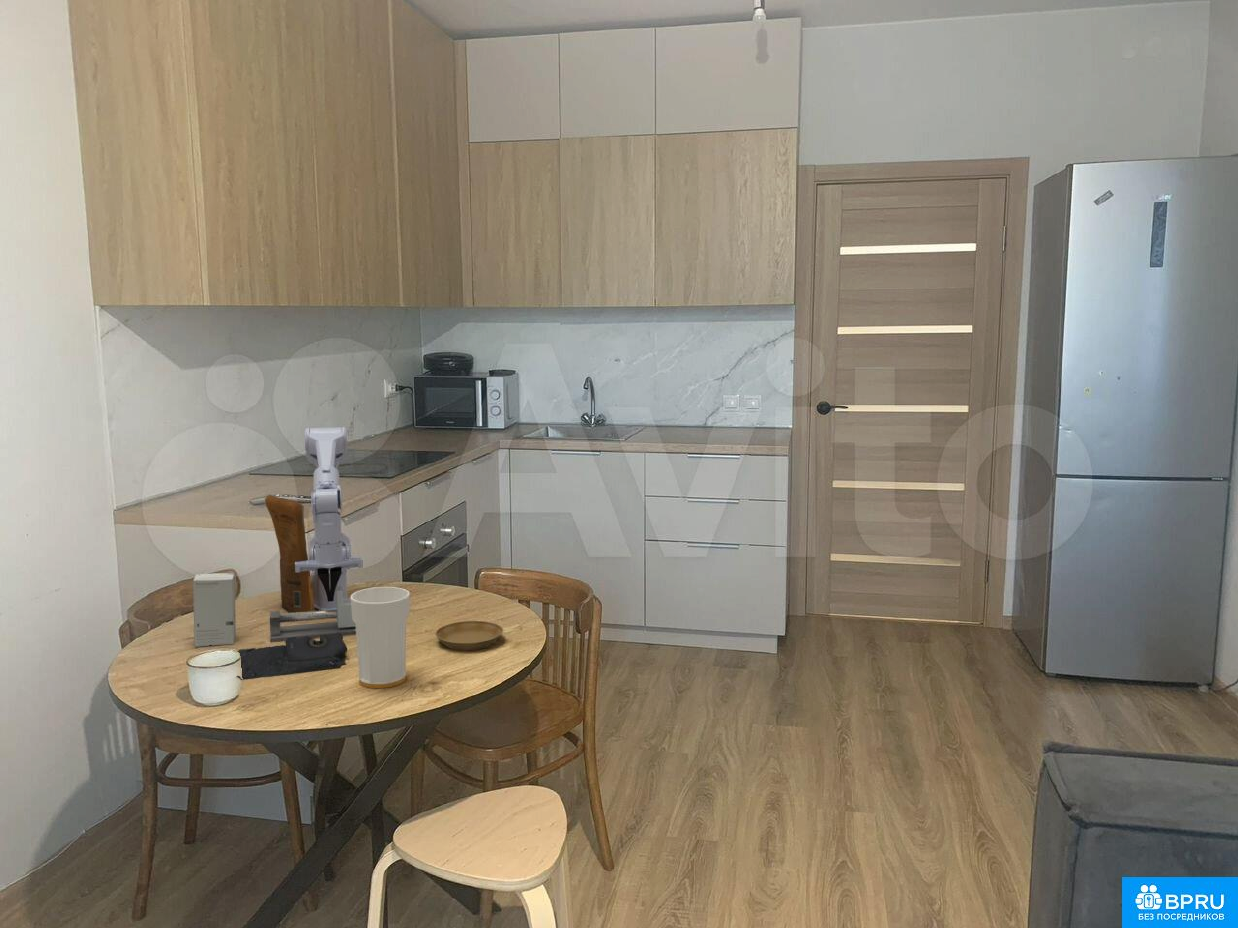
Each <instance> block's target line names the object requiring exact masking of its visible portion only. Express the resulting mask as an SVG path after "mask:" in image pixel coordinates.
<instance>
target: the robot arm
mask: <svg viewBox="0 0 1238 928" xmlns="http://www.w3.org/2000/svg"><path fill="white" fill-rule="evenodd" d="M347 431H348V430H347V428H346V427H345V426H342V427H306V428H305V429H304V448H305V449H304V451H305V454H306V459H307V462H308V463H310V464H312V465H314V466H315V467H316V469H315V470H314V472H313V478H312V479H313V480H312V481H313V491H311V493H310V500H311V501H310V502H311V503H310V504H311V505H310V506H311V507H310V508H311V512H312V519H313V524H314V529H313V530H314V536H312V537H311V538H310V541H309V543H308V544H309V548H308V561H301V562H295V572H301V571H310V577H311V584H312V591H313V598H314V609H316V610H317V611H319V610H331V609H337V597H336V586H342V597H343V599H345V598H348V582H347V579H348V578H347V571H348V570H349V569H351V568H353V569H354V568H358V569H363V568H364V560H363V557H352V547H351V546H352V545H351V540H350V537H349V536H348V535H347V534H345V533H344V532H342V518H341V517H342V515H341V514H342V512H343V493H342V489H341V484H340V483H341V482H340V481H341V479H340V472H339V470H338V468H339V466H340V464H342V463H344V462H346V461H347V458H348V432H347ZM339 510H340V511H339Z"/></svg>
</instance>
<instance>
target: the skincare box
mask: <svg viewBox="0 0 1238 928" xmlns="http://www.w3.org/2000/svg"><path fill="white" fill-rule="evenodd" d="M192 583H193V585H192V587H193V590H192V591H193V593H192V594H193V596H192V597H193V637H194V638H193V641H194V644H193V645H194V647H195V648H199V647H210V646H209V645H212V646H221V645H234V644H235V641H236V637H237V633H236V631H237V628H236V627H237V625H236V622H237V621H236V573H235V572H234V573H233V572H230V573H229V572H225V573H222V572H221V573H219V572H218V573H217V572H216V573H201V574H200V573H198V574H195V576H194V578H193V582H192Z"/></svg>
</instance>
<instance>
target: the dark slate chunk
mask: <svg viewBox="0 0 1238 928" xmlns="http://www.w3.org/2000/svg"><path fill="white" fill-rule="evenodd" d="M344 641H345V640H344V636H342V634H341V633H339V632H337V633H335V634H324V635H320V638H319V640H316V638H311V637H309V636H305V637H302V638H296V637H290V638H288V639H286V641H284V644H282V645H281V644H280V645H274V646H265V647H259V648H255V647H252V648H244V649H238V650H237V652H239V653H240V656H241V668H242V678H243V680H254V679H260V678H272V677H280V676H288V675H289V676H290V675H296V674H306V673H311V672H320V671H330V670H338V669H340V668H341V667H342V666H346V665H347V663H346V661H345V658H346V657H347V651H348V647H347V644H346V643H345V642H344Z"/></svg>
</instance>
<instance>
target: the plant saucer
mask: <svg viewBox="0 0 1238 928" xmlns="http://www.w3.org/2000/svg"><path fill="white" fill-rule="evenodd" d="M503 632H504V629H503V627H502V626H501V625H499V624H497V623H494V622H490V621H486V620H485V621H483V620H463V621H455V622H451V623H448V624H445V625H442V626H440V627H439V628H438V629H437V630H435V632H434V633H435V636H436V638H437V639H438V640H439V642H440V643H442V644H443V645H445V647H447V648H449V649H452V650H457V651H473V650H482V649H485V648H488V647H490V646H492V645H493V644H494V643H495V642H497V640H498V639H499V638H500V637H501V635H502V634H504V633H503Z"/></svg>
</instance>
